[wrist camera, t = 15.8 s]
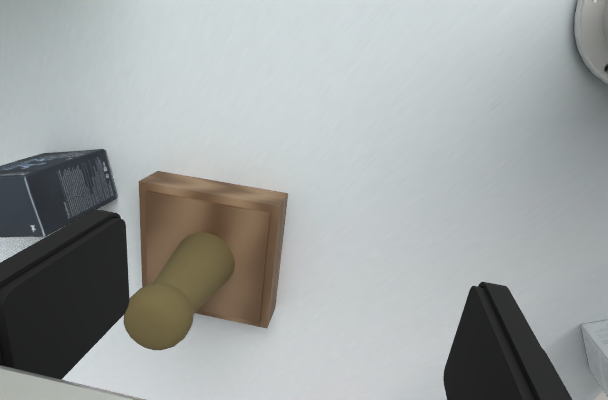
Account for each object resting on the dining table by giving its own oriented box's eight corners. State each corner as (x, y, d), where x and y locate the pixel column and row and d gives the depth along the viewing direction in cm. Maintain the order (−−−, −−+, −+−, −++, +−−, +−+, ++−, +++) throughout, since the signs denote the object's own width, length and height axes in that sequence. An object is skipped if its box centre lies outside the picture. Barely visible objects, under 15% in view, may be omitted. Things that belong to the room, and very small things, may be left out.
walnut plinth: (287, 193, 40) (279, 207, 37) (275, 308, 45) (266, 330, 42) (157, 171, 42) (136, 182, 38) (159, 284, 47) (141, 303, 43)
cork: (201, 294, 41) (144, 373, 31) (165, 248, 40) (94, 315, 30) (246, 270, 39) (201, 346, 29) (210, 221, 38) (149, 282, 28)
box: (106, 147, 42) (24, 176, 32) (119, 197, 44) (46, 239, 34) (42, 151, 43) (-55, 180, 34) (57, 200, 45) (-30, 241, 36)
